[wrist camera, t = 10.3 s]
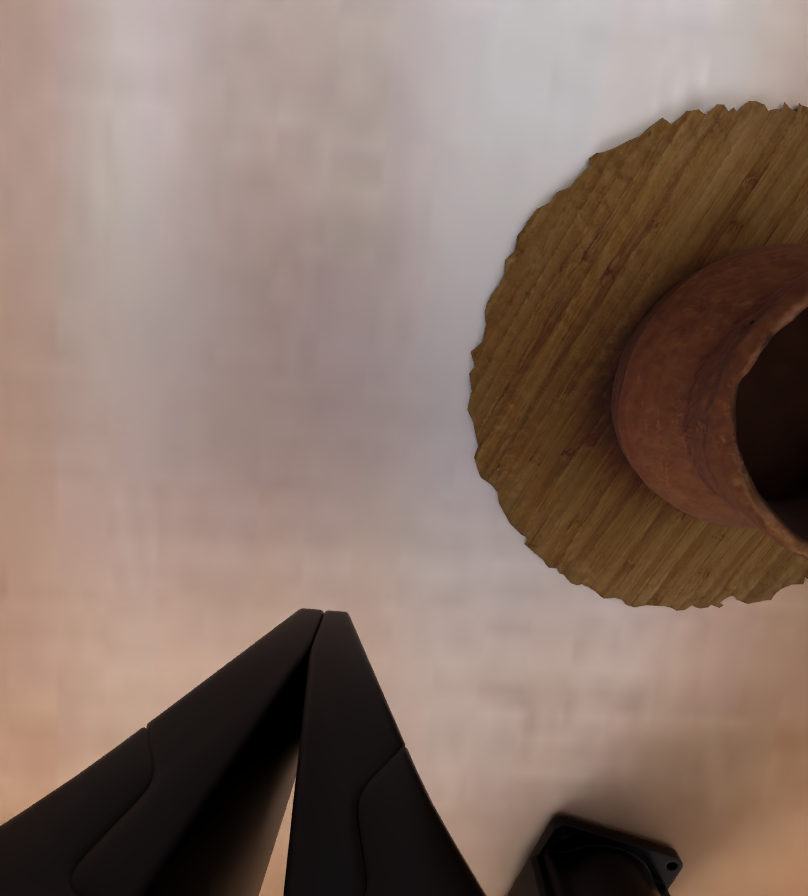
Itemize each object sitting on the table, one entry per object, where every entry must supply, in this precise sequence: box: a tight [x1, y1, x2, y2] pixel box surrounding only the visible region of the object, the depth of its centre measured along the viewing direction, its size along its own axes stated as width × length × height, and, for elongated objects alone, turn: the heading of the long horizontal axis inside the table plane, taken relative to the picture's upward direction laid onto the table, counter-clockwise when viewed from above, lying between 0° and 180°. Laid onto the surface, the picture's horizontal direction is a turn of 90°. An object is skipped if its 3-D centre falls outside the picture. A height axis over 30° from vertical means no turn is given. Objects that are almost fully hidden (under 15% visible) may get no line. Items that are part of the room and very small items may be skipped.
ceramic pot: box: [468, 101, 808, 611], centre depth 13 cm, size 18×18×7 cm
